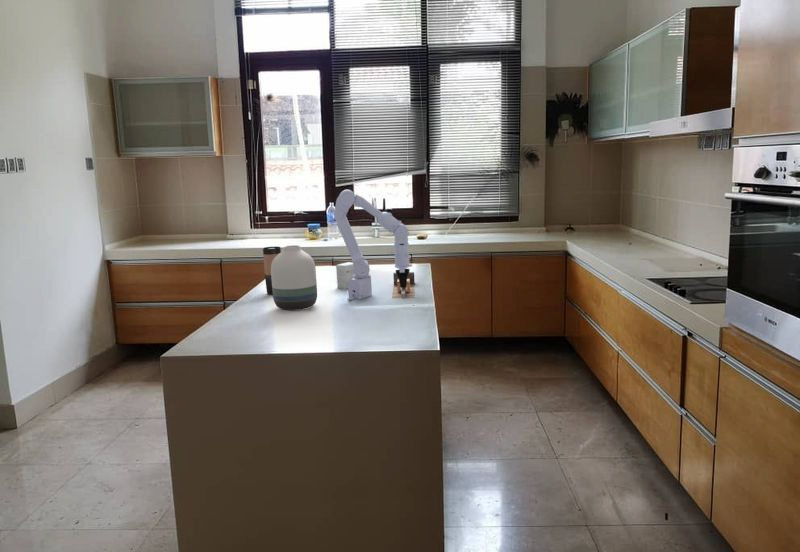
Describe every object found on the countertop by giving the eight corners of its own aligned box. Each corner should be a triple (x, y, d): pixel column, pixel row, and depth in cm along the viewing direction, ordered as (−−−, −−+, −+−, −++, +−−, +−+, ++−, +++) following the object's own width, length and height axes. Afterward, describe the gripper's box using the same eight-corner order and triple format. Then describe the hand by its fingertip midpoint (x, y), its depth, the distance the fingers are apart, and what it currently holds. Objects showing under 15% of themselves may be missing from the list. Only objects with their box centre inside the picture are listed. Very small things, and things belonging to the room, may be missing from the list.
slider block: (409, 292, 262) (409, 281, 262) (397, 292, 262) (397, 281, 262) (410, 289, 268) (409, 278, 267) (398, 289, 268) (397, 279, 267)
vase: (269, 306, 253) (264, 246, 249) (311, 301, 259) (307, 242, 255) (279, 315, 237) (274, 250, 233) (323, 309, 244) (319, 246, 240)
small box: (349, 284, 291) (348, 262, 289) (358, 286, 287) (357, 262, 285) (337, 288, 285) (335, 264, 283) (346, 289, 281) (344, 265, 279)
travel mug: (287, 292, 280) (284, 247, 276) (273, 295, 274) (269, 249, 271) (277, 290, 285) (273, 246, 281) (262, 293, 279) (259, 248, 276)
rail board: (414, 300, 252) (414, 285, 251) (391, 301, 252) (391, 286, 251) (414, 285, 283) (414, 271, 282) (394, 285, 283) (393, 272, 282)
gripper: (411, 256, 251) (413, 290, 253) (411, 251, 265) (413, 283, 268) (393, 257, 251) (395, 290, 254) (394, 251, 266) (396, 284, 268)
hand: (403, 287), depth 261 cm, fingers closed
